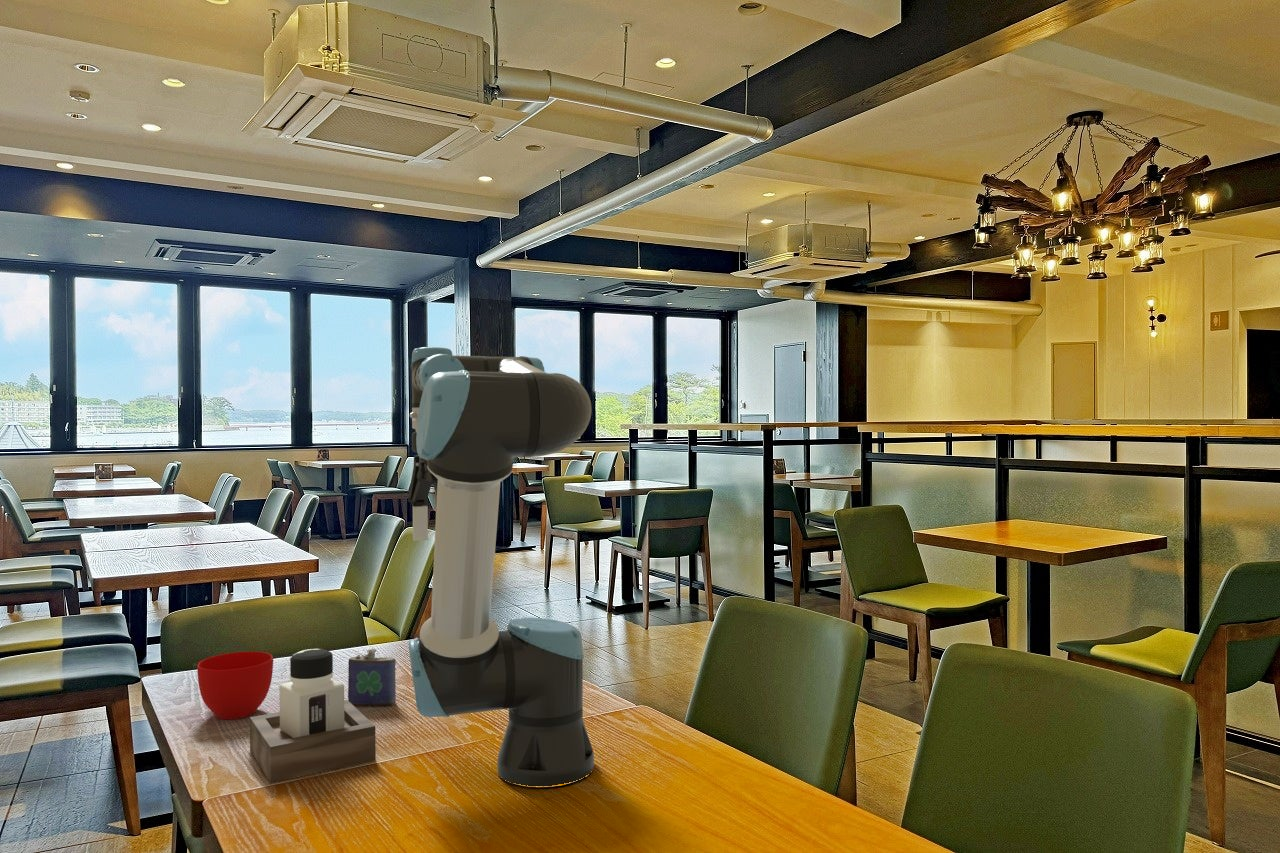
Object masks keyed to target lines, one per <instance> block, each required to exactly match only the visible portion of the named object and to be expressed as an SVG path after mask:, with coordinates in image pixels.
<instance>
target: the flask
mask: <svg viewBox="0 0 1280 853" xmlns="http://www.w3.org/2000/svg"><path fill="white" fill-rule="evenodd" d="M376 652H377V649H375V648H371V649H367V654H365V655H364V654H360V653H359V654H357V655H356V656H352V657H349V659H348V668H347V669H348V680H347V681H348V682H347V684H348V687H347V700H348V701H349V702H350V703H351V704H352V705H353V706H354V707H364V708H365V707H389V706H394V705H396V703H397V696H396V691H397V689H396V687H397V686H396V685H397V684H396V683H397V682H396V664H397V660H396V658H395V657H394V656H388V657H382V656H380V657H377V656H376Z"/></svg>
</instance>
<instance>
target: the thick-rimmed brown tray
mask: <svg viewBox="0 0 1280 853" xmlns="http://www.w3.org/2000/svg"><path fill="white" fill-rule="evenodd" d="M376 746H377V745H376V725H375V724H374V723H373V722H372V721H370V719H368V717H366V716H365V715H364V714H363V713H362V712H361V711H360V710H359V709H358V708H357V707H356V706H353V705H352V704H351V703H350V702H349V701H348V699H344V728H341V729H336V730H331V731H326V732H321V733H316V734H311V735H306V736H301V737H295V738H292V737H291V736H289V735H288V734H286V733H284V732H283V731H281V730H280V711H277V712H272V713H265V714H261V715H255V716H254V715H253V716H249V751H250V752H251V754H252V755H253V757H254V759H255V761H256V762H257V764H258V766H259V767H260V768H261V770H262V772H263V773H264V775H265V776H266V778H267V780H268V781H269V783H270V784H273V783H277V781H278V782H281V780H282V781H287V780H292V779H295V778H294V777H296V778H299V777H298V776H300V777H304V776H303V775H305V776H308V775H307V774H309V775H313V773H314V774H318V773H323V772H327V771H332V770H336V769H340V768H341V769H342V768H345V767H349V766H355V765H358V764H363V763H368V762H372V761H376V760H377V759H376V757H377V755H376V753H377V752H376ZM322 771H323V772H322ZM272 782H273V783H272Z"/></svg>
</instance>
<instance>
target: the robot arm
mask: <svg viewBox="0 0 1280 853" xmlns="http://www.w3.org/2000/svg"><path fill="white" fill-rule="evenodd" d="M410 369H411V394H412V395H411V396H412V397H411V398H412V399H411V403H412V404H411V410H412V411H411V412H410V413H409V417H410V419H411V421H412V422H411V424H412V426H411V427H412V429H413V430H415V432H412V434H411V449H412V452H413V453H417V455H414V456H413V467H412V473H411V479H410V485H409V492H408V496H407V497H408V498H407V502H408V503H409V502H410V503H411V506H412V541H414V542H418V541H427V540H429V535H428V534H429V532H428V531H429V529H428V528H429V527H428V526H429V524H428V523H429V520H428V517H429V515H428V513H429V512H428V508H429V507H428V506H429V505H430V504H429V500H428V497H429V494H430V491H431V487H432V486H433V487H434V492H435V494H436V507H435V508H436V509H435V511H436V512H435V525H434V526H435V528H434V531H435V532H434V550H433V569H432V570H433V571H432V572H433V573H432V589H431V591H432V592H431V610H430V611H431V612H430V614H431V615H430V617H429V618H428V619H427V620H425V621H424V622H423V624H421V627H420V631H419V637H417V636H416V637H415V638H412V639H410V640H409V641H408V651H409V652H408V653H409V659H410V660H409V661H410V668H411V675H412V682H413V683H412V684H413V691H414V696H415V704H416V709H417V711H418V713H419V714H420V715H421V716H422V717H423V716H424V717H425V718H436V717H437V718H438V717H444V718H449V717H450V716H456V715H464V714H472V713H473V714H474V713H482V712H491V711H499V710H507V709H508V723H507V726H506V729H505V733H504V735H503V739H502V742H501V745H500V749H499V751H498V753H497V754H498V755H497V760H496V761H497V770H498V771H497V770H496V771H497V775H498V774H499V775H498V776H500V777H502V778H503V779H504V780H506V781H509V782H511V783H516V784H521V785H526V786H527V785H528V786H552V785H558V784H564V783H569V782H573V781H576V780H579V779H581V778H583V777H585V776H586V775H588V774H590V773H591V771H592V770H593V768H595V753H594V749H593V747H592V743H591V740H590V737H589V733H588V731H587V728H586V724H585V722H584V716H583V714H584V712H583V710H584V706H583V702H584V700H583V697H584V694H583V693H584V692H583V690H584V688H583V686H584V684H583V683H584V681H583V679H584V677H583V675H584V674H583V673H584V669H583V667H584V666H583V663H584V659H585V656H584V648H583V638H582V637H583V636H582V634H581V632H580V630H579V629H578V628H577V627H575V626H574V625H572V624H570V623H568V622H564V621H561V620H555V619H550V618H544V617H543V618H542V617H519V618H514V619H510V620H509V622H508V623H507V626H506V629H507V630H504V631H499V627H498V624H496V622H495V621H494V620H493V619H491V611H492V610H491V608H492V595H493V583H494V582H493V581H494V572H495V570H494V568H495V558H496V557H495V556H496V542H497V532H498V518H499V506H500V505H499V504H500V492H501V490H500V489H501V483H502V481H504V480H505V479H506V478H508V477H509V476H510V475H512V472H513V468H514V467H513V466H514V459H515V458H523V457H525V458H526V457H528V458H529V457H530V458H531V457H543V456H548V455H553V454H555V453H558V452H561V451H562V450H564V449H566V448H569V447H570V446H572V445H573V444H574V443H575V442H576V441H578V440H579V439H580V438H581V436H582V435H583V434H584V433H585V431H586V430H587V427H588V426H589V424H590V421H591V417H592V402H591V398H590V396H589V394H588V391H587V390H586V388H585V387H584V386H583V385H582V383H580V382H579V381H578V380H576V379H574V378H572V377H570V376H568V375H566V374H563V373H559V372H558V373H557V372H555V373H554V372H552V373H551V372H550V373H549V372H546V371H545V367H544V363H543V361H542V360H541V359H540V358H538V357H531V356H530V357H529V356H525V355H524V356H523V355H521V356H485V355H484V356H483V355H454V354H453V352H452V350H451V349H450V348H447V347H440V346H439V347H435V346H434V347H433V346H432V347H431V346H423V347H417V348H414V349H413V350H412V353H411V364H410ZM593 771H594V770H593ZM591 774H592V773H591ZM591 774H590V775H591ZM500 777H499V778H500ZM503 779H502V780H503ZM504 780H503V781H504ZM506 781H505V782H506Z"/></svg>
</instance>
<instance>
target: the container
mask: <svg viewBox="0 0 1280 853" xmlns="http://www.w3.org/2000/svg"><path fill="white" fill-rule="evenodd" d="M333 656H334V654H333V653H332V652H331V651H330V650H327V649H324V648H310V649H309V648H308V649H303V650H301V651H298V652H296V653H294V654H292V656H291V657H290V659H289V660H290V661H289V663H290V664H289V668H290V669H289V670H290V671H289V672H290V673H289V674H290V676H289V677H290V678H289V679H290V681H287V682H283V683H281V684H280V685H279V687H278V688H279V712H280V730H281V731H283V732H284V733H286V734H288V735H289V736H291V737H292V738H295V737H301V736H306V735H311V734H316V733H321V732H326V731H331V730H336V729H341V728H344V700H345V684H344V683H342V682H340V681H338V680H335V679H334V678H333V677H334V672H333V671H334V668H333V667H334V661H333V660H334V659H333V658H334V657H333Z"/></svg>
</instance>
